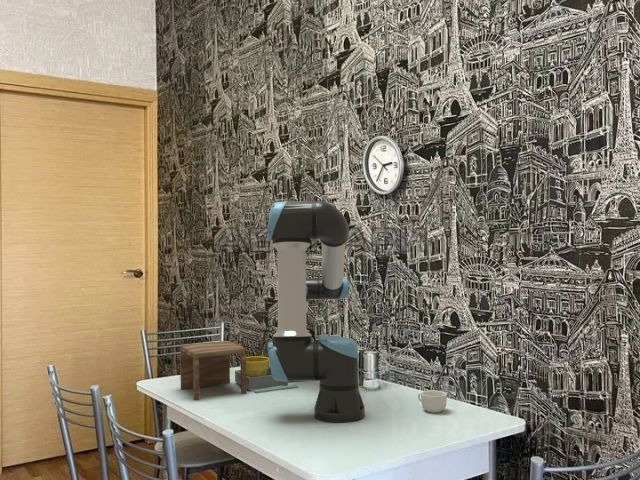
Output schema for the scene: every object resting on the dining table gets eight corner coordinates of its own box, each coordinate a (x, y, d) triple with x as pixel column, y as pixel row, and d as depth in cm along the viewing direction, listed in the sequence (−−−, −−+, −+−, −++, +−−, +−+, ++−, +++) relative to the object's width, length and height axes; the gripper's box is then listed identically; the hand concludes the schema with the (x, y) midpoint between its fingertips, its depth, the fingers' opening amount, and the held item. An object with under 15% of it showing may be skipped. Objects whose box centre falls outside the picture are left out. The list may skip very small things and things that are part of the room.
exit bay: (298, 387, 223) (298, 385, 223) (255, 393, 216) (255, 391, 216) (275, 376, 242) (275, 374, 242) (235, 381, 234) (235, 379, 234)
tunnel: (246, 393, 215) (245, 348, 215) (194, 400, 207) (194, 353, 207) (229, 382, 232) (228, 340, 231) (180, 388, 223) (179, 345, 223)
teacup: (452, 411, 191) (452, 393, 191) (436, 416, 186) (436, 398, 186) (426, 404, 198) (426, 387, 198) (410, 409, 193) (410, 391, 193)
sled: (313, 381, 229) (312, 351, 229) (249, 389, 218) (248, 358, 218) (296, 373, 242) (295, 345, 242) (235, 381, 231) (234, 351, 231)
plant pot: (274, 383, 230) (273, 356, 230) (263, 390, 220) (263, 362, 220) (247, 381, 233) (247, 355, 232) (236, 388, 223) (235, 361, 222)
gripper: (318, 314, 228) (318, 379, 228) (296, 310, 244) (297, 369, 244) (299, 316, 225) (300, 381, 225) (279, 311, 241) (279, 372, 241)
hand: (298, 375), depth 235 cm, fingers closed on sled, 5 cm apart
